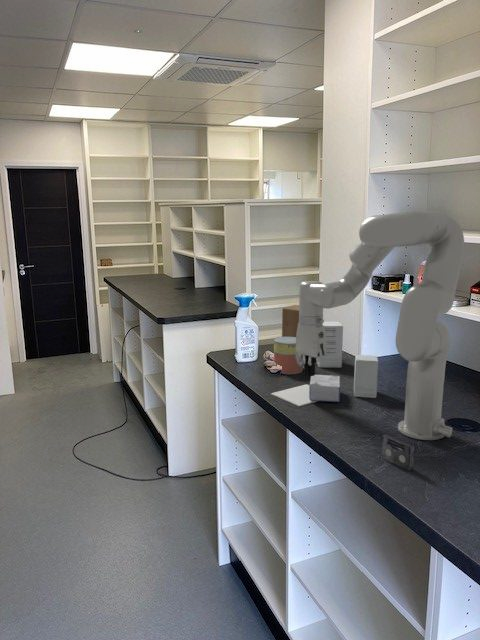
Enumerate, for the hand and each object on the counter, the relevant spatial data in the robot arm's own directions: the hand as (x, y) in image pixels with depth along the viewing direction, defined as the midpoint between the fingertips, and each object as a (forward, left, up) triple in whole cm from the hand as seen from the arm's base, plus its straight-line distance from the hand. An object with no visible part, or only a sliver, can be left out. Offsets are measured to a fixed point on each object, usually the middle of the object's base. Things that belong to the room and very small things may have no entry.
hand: (309, 375), depth 167 cm
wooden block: (+46, -36, -8) cm, 59 cm away
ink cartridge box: (-6, -2, -5) cm, 8 cm away
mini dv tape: (-45, +13, -8) cm, 48 cm away
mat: (+4, -1, -8) cm, 9 cm away
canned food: (+29, -16, -8) cm, 34 cm away
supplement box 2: (-7, -19, -8) cm, 22 cm away
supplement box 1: (+25, -34, -8) cm, 43 cm away
